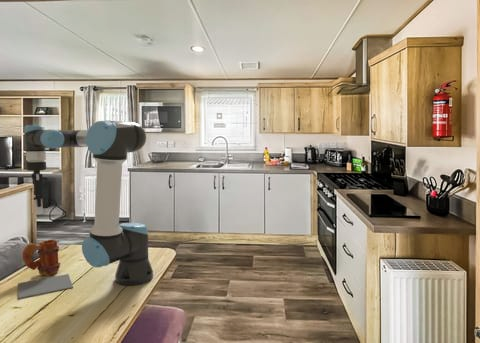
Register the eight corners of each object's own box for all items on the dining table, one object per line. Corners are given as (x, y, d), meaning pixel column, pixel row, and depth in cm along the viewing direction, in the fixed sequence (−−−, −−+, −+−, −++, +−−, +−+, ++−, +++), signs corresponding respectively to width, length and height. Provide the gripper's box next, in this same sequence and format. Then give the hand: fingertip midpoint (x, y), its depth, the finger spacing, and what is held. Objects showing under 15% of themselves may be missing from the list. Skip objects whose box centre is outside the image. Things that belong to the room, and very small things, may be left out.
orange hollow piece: (55, 268, 157) (54, 235, 156) (65, 272, 153) (63, 238, 151) (20, 278, 145) (18, 243, 144) (29, 283, 141) (27, 247, 139)
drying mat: (73, 288, 137) (72, 286, 137) (18, 299, 127) (18, 297, 127) (68, 275, 150) (68, 273, 149) (18, 284, 140) (18, 283, 140)
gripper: (25, 159, 160) (28, 208, 162) (26, 163, 141) (29, 217, 143) (44, 159, 164) (46, 206, 166) (47, 162, 145) (50, 215, 147)
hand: (38, 211), depth 155 cm, fingers open, 9 cm apart
